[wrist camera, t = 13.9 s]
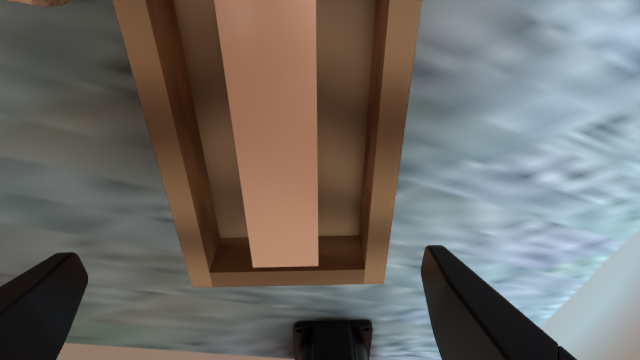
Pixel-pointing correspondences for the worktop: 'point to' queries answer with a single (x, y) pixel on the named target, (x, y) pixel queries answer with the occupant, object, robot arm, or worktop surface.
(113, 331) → the worktop surface
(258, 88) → the clay strip
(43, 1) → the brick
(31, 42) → the worktop surface
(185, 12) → the wooden open tray
